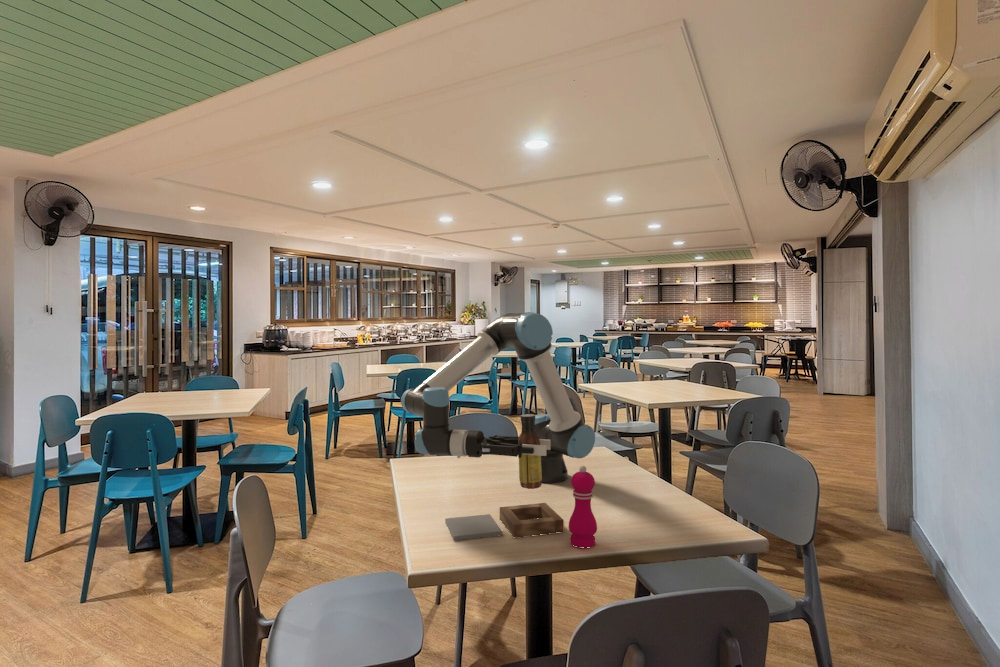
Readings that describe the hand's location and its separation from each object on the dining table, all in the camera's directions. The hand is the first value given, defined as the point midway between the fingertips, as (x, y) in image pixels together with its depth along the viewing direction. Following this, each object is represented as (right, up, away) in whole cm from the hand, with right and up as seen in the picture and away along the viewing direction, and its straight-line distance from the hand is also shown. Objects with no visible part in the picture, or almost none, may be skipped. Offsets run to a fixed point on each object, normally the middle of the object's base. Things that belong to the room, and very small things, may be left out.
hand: (548, 447), depth 144 cm
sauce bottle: (-5, -11, +1) cm, 12 cm away
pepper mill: (+8, -23, -10) cm, 26 cm away
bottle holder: (-5, -22, +2) cm, 23 cm away
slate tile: (-21, -22, -1) cm, 30 cm away
